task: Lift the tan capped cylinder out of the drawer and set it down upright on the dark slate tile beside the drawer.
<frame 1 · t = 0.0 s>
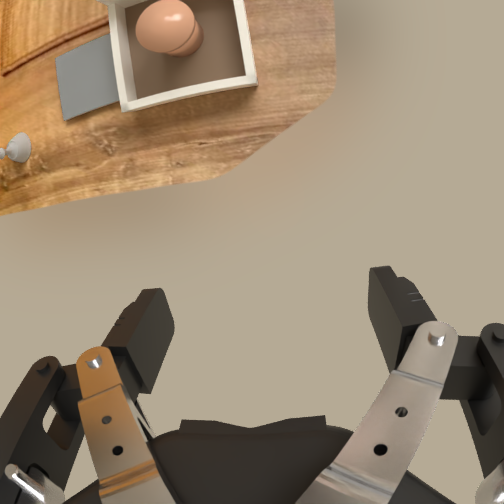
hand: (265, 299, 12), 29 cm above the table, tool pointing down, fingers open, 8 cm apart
tan capped cylinder: (182, 37, 31), point 1 cm above the table, touching drawer
slate tile: (89, 76, 34), on the table
chalice: (21, 147, 38), on the table
drawer: (184, 39, 32), on the table
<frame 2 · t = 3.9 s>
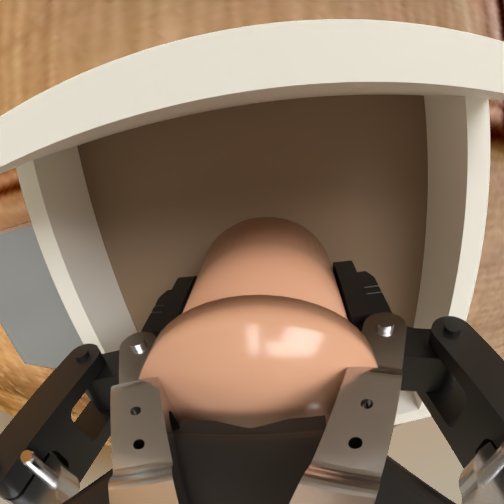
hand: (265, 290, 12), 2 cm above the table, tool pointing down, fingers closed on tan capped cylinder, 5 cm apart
tan capped cylinder: (267, 277, 13), point 1 cm above the table, touching drawer, gripper
slate tile: (42, 300, 16), on the table
drawer: (267, 266, 14), on the table
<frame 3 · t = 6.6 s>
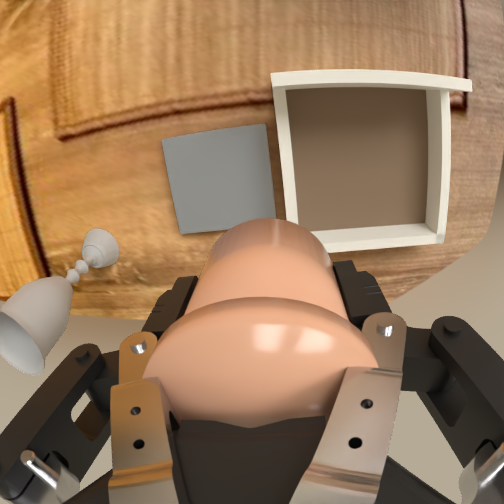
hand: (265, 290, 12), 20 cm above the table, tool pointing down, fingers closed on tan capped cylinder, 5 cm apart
tan capped cylinder: (268, 278, 13), point 19 cm above the table, touching gripper
slate tile: (221, 179, 31), on the table
chalice: (101, 247, 35), on the table
drawer: (361, 157, 29), on the table
when the fingers open (3 cm above the table, at t = 9.5 s): tan capped cylinder drops 1 cm, resting on slate tile.
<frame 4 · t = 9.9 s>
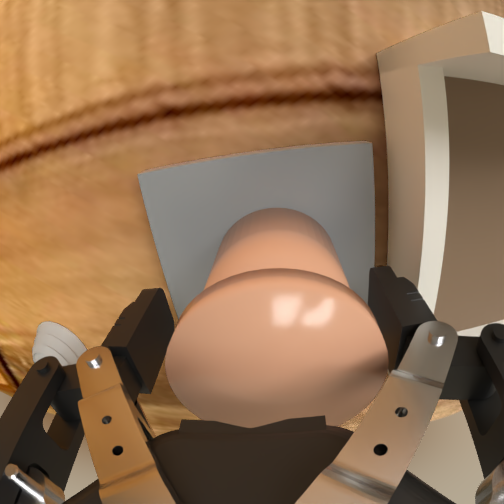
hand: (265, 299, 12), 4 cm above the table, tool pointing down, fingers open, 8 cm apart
tan capped cylinder: (276, 264, 14), point 1 cm above the table, touching slate tile
slate tile: (267, 254, 15), on the table
chalice: (63, 346, 20), on the table
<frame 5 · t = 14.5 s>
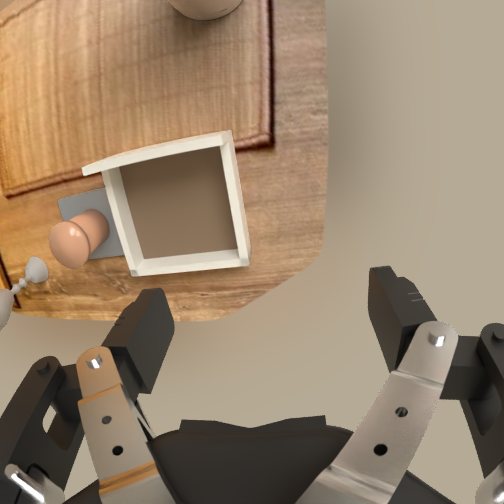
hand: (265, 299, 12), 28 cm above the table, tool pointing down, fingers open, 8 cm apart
tan capped cylinder: (93, 226, 41), point 1 cm above the table, touching slate tile
slate tile: (94, 224, 42), on the table
chalice: (38, 268, 47), on the table
drawer: (180, 201, 40), on the table
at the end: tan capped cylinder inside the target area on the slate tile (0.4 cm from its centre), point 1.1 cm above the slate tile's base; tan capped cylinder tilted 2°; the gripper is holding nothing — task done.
